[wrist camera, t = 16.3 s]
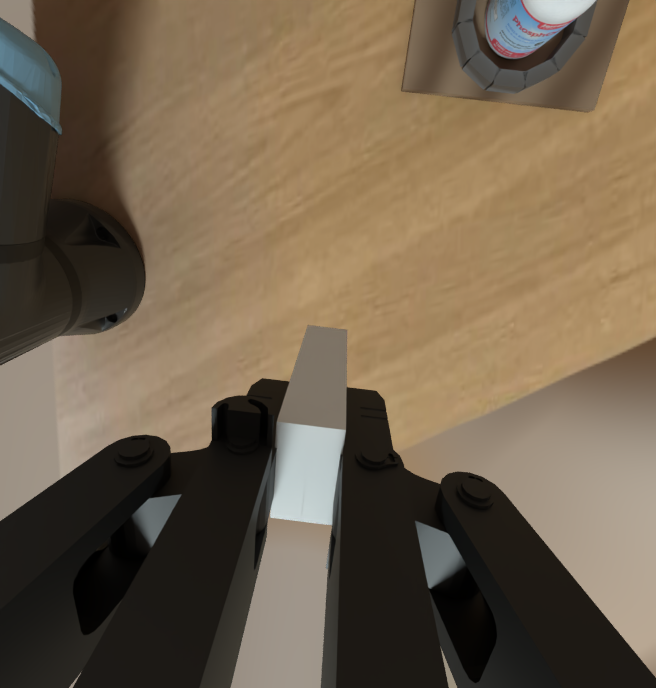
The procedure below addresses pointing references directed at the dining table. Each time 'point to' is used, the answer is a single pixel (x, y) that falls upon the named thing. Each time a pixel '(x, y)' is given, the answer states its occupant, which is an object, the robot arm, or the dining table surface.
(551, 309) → the dining table surface
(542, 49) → the holder
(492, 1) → the pill bottle
